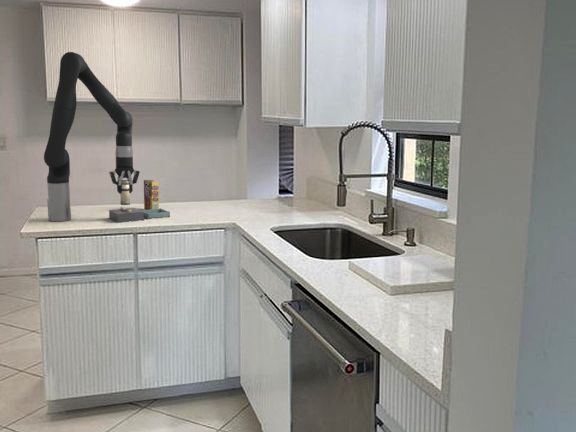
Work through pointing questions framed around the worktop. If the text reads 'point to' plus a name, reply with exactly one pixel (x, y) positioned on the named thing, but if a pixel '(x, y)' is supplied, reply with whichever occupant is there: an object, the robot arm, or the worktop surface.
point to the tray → (155, 213)
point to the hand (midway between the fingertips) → (125, 192)
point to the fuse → (125, 193)
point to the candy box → (151, 194)
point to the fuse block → (126, 215)
